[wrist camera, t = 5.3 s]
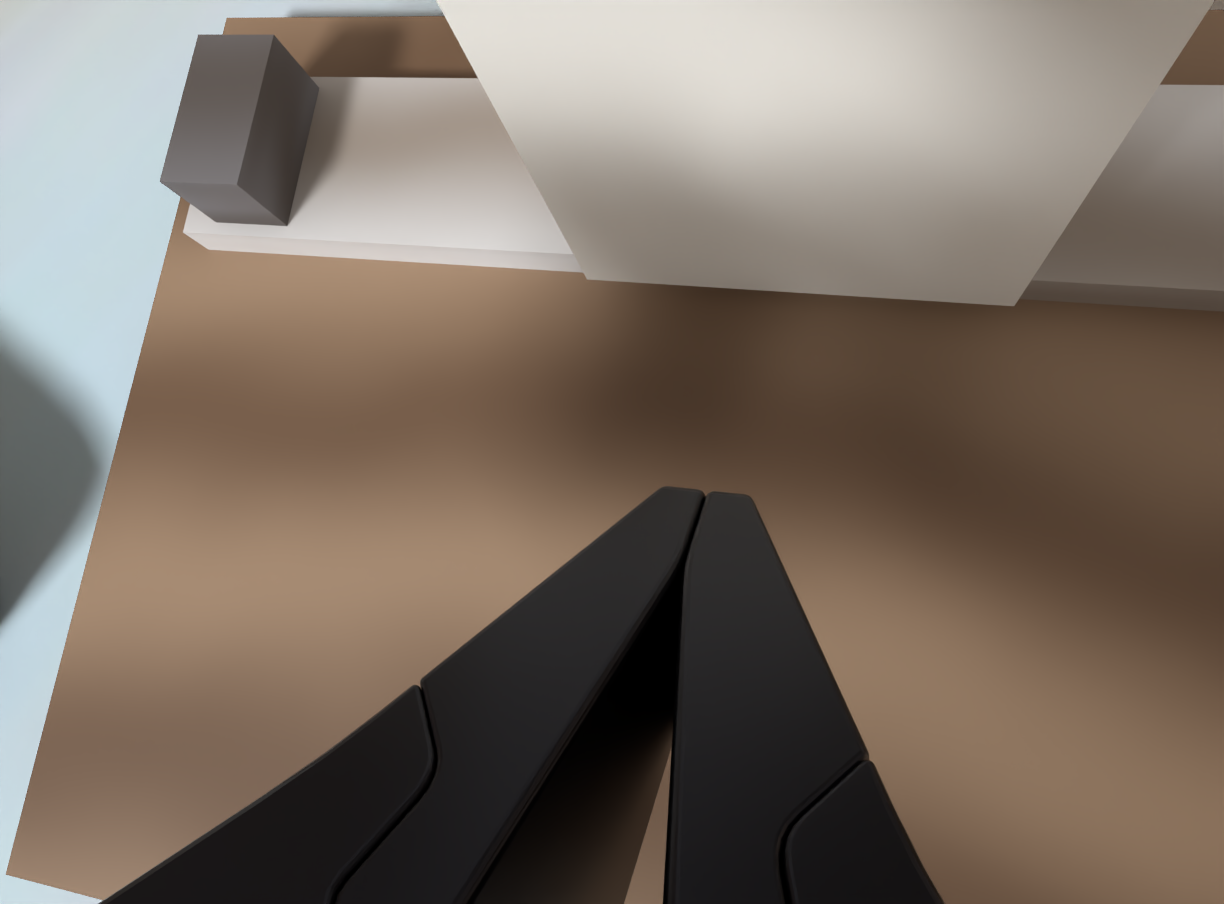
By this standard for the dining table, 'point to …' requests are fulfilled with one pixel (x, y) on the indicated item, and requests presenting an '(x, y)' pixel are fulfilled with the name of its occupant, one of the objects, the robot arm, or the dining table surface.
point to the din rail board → (647, 477)
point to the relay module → (820, 132)
